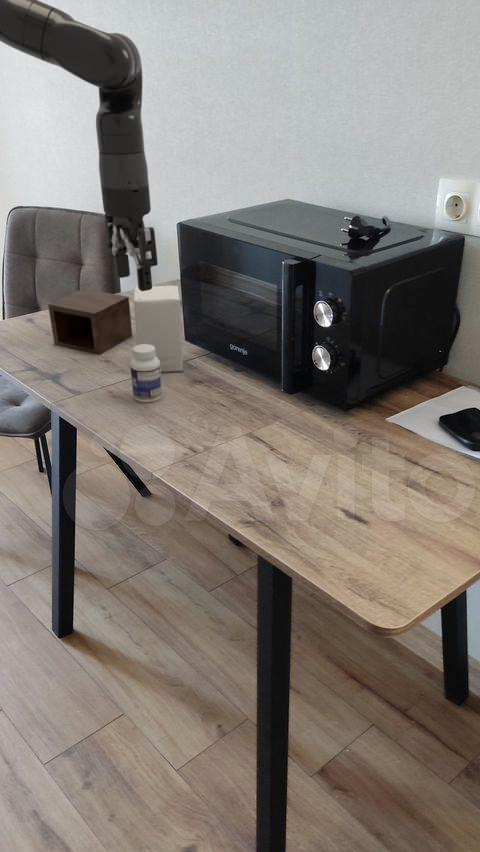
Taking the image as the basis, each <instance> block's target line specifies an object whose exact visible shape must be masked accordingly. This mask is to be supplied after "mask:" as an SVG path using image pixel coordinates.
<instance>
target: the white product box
mask: <svg viewBox="0 0 480 852" xmlns="http://www.w3.org/2000/svg"><path fill="white" fill-rule="evenodd" d="M133 311H134V322H135V323H134V324H135V334H136V335H135V336H136V346H137V345H141V344H149V345H153V346H154V347H155V352H156V354H155V357H157V358H158V359H159V361H160V370H161V373H168V372H169V373H170V372H183V371H184V360H183V359H184V358H183V357H184V355H183V352H184V351H183V330H182V313H181V312H182V311H181V299H180V290H179V286H178V285H155V286H154V285H152V289H151V290H147V291H141V290H139V288H138V286H134V288H133Z"/></svg>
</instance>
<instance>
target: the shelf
mask: <svg viewBox="0 0 480 852" xmlns="http://www.w3.org/2000/svg"><path fill="white" fill-rule="evenodd" d="M47 306H48V312H49V318H50V325H51V332H52V337H53V345H54V346H59V347H63V348H68V349H71V350H76V351H77V350H78V351H81V352H86V353H90V354H95V355H102V354H104V353H105V352H107V351H109V350H110V349H112V348H114V347H116V346H118V345H119V344H121V343H123V342H124V341H126V340H128V339H130V338H132V337H133V329H132V317H131V306H130V297H129V296H125V295H121V294H116V293H111V292H107V291H100V290H96V289H95V290H94V289H89V288H81V289H79V290H77V291H75V292H73V293H71V294H68V295H66V296H64V297H62V298H61V297H60V298H59V299H56V300H55V301H52V302H50V303H48V304H47Z"/></svg>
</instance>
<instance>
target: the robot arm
mask: <svg viewBox="0 0 480 852" xmlns="http://www.w3.org/2000/svg"><path fill="white" fill-rule="evenodd" d="M0 42H1V43H3V44H5V45H6V46H8V47H10V48H12V49H14V50H17V51H19V52H21V53H24V54H26V55H28V56H30V57H33V58H35V59H38V60H40V61H42V62H45V63H48V64H50V65H52V66H53V65H54V66H57V67H59V68H61V69H63V70H64V71H66V72H68V73H70V74H71V75H73V76H75V77H76V78H78V79H80V80H82V81H84V82H86V83H88V84H90V85H92V86H95V87H97V88H98V97H99V98H98V100H99V107H98V110H97V112H96V116H95V131H96V140H97V148H98V149H97V150H98V174H99V181H100V189H101V199H102V206H103V207H102V208H103V212H104V223H105V234H106V235H105V236H106V245H107V249H108V250H111V253H112V255H113V256H114V262H115V271H116V276H117V278H120V279H123V278H129V277H130V275H131V270H130V260H129V256H130V257H132V258H133V260H134V263H135V265H136V277H137V278H136V279H137V287H138V288H139V290H141V291H147V290H151V289H152V286H153V280H152V279H153V278H152V269H151V268H152V267H156V266H158V264H159V263H158V254H157V253H158V252H157V242H156V233H155V232H156V231H155V228H154V227H153V226H150V227H146V226H145V221H144V217H145V216H146V215H148V214H150V212H151V210H152V206H151V194H150V184H149V183H150V182H149V170H148V163H147V158H146V152H145V140H144V139H145V138H144V127H143V122H142V107H143V106H142V105H143V104H142V103H143V66H142V59H141V54H140V52H139V50H138V49H139V48H138V47H137V46H136V44H135V42H134V41H133V40H132V39H131V38H130V37H128V36H127V35H125V34H123V33H119V32H106V31H103V30H100V29H97V28H95V27H92V26H90V25H87V24H85V23H82V22H80V21H78V20H75V19H74V18H73V16H71V15H70V14H68V13H67V12H65V11H63V10H62V9H59V8H56V7H55V6H52V5H50V4H47V3H45V2H43V1H40V0H0Z"/></svg>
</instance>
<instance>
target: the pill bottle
mask: <svg viewBox="0 0 480 852" xmlns="http://www.w3.org/2000/svg"><path fill="white" fill-rule="evenodd" d="M155 354H156V352H155V347H154V346H153V345H149V344H141V345H137V344H136V345H135V346H133V347H132V355H133V357H132V359H131V360H130V363H129V367H130V375H131V386H132V394H133V398H134V399H135V400H136V401H137V402H140V403H153V402H158V401H159V400H160V399H161V398H162V396H163V386H162V372H161V370H160V361H159V359H158V358H157V357H155Z"/></svg>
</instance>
